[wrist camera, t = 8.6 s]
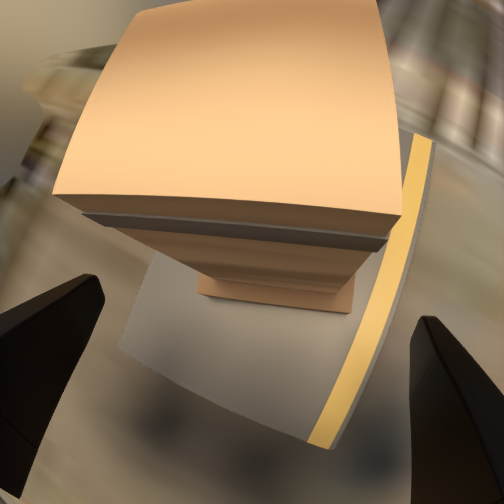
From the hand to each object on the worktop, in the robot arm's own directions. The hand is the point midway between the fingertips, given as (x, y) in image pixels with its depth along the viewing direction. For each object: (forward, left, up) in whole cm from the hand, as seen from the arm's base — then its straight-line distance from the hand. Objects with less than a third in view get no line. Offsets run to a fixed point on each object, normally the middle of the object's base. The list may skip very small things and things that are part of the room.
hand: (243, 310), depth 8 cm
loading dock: (+4, +1, -10) cm, 11 cm away
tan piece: (+4, +1, -8) cm, 9 cm away
